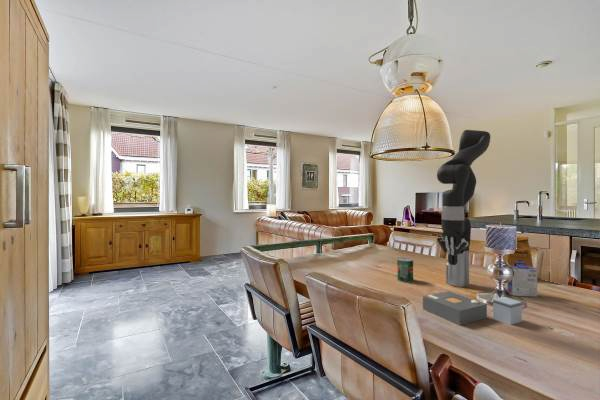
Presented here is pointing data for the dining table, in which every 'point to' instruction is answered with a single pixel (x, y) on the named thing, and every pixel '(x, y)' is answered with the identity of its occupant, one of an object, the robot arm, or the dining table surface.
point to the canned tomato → (405, 269)
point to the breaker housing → (455, 308)
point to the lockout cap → (507, 310)
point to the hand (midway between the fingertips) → (452, 264)
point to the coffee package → (520, 253)
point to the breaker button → (453, 300)
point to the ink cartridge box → (523, 280)
